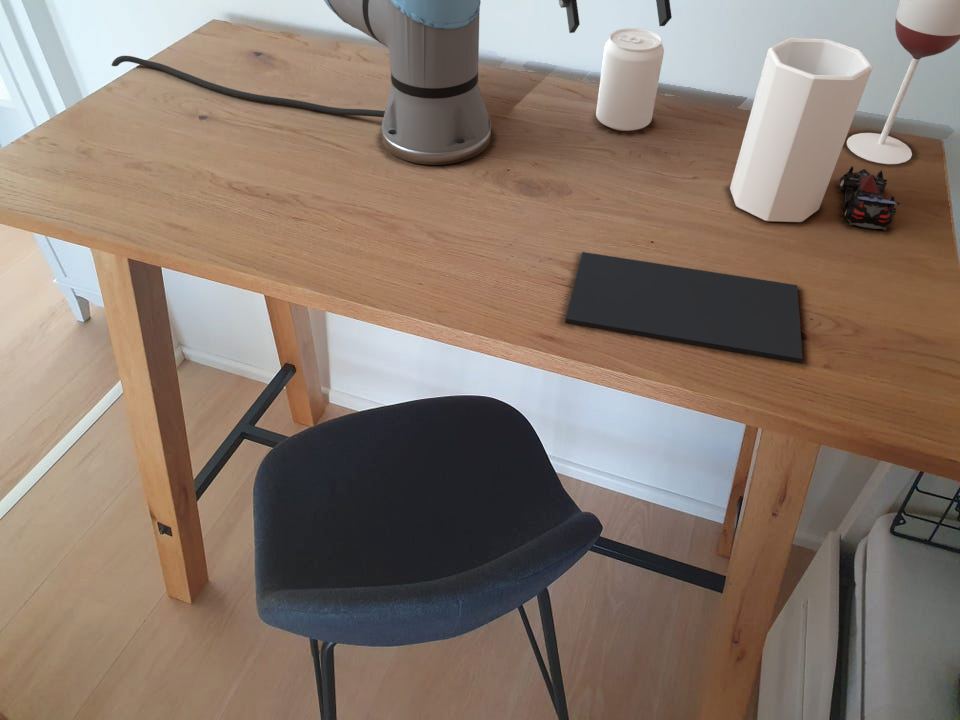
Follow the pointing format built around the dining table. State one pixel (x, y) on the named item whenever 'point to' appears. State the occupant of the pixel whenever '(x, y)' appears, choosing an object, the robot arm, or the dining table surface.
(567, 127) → the dining table surface
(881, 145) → the wineglass
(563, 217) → the dining table surface
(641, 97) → the beverage can
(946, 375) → the dining table surface
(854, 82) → the cup
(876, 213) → the toy car
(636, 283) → the place mat
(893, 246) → the dining table surface
